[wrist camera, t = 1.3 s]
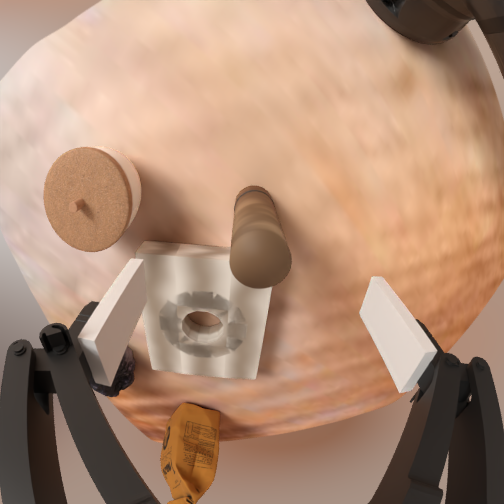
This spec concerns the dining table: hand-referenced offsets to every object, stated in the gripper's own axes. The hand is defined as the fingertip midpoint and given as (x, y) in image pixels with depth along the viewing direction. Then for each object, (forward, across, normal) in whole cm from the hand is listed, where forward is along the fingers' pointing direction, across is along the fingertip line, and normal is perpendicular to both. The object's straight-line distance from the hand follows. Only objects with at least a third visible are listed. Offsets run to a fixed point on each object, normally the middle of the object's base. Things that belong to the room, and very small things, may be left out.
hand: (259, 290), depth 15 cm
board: (+18, -5, -16) cm, 24 cm away
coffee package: (+19, -8, -45) cm, 49 cm away
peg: (+18, 0, 0) cm, 18 cm away
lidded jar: (+18, -17, +1) cm, 25 cm away
